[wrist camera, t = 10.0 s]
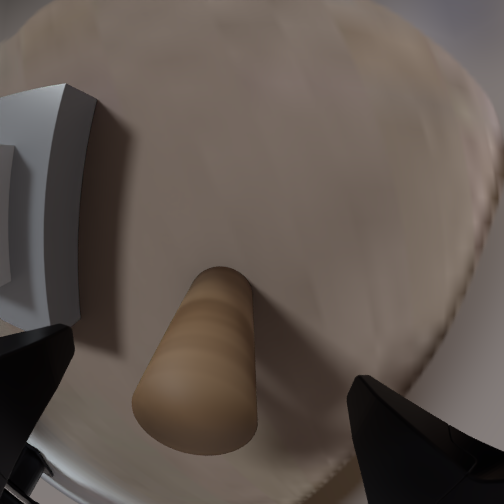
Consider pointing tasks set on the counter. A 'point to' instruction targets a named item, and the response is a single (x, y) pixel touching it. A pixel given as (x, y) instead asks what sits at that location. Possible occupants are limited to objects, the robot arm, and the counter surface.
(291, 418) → the counter surface
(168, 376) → the tapered wooden peg
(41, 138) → the button box
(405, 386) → the counter surface
